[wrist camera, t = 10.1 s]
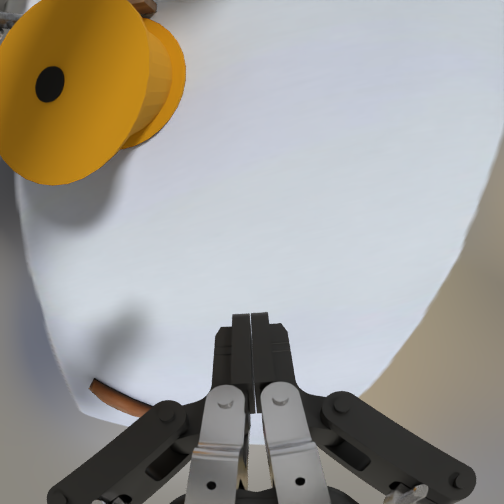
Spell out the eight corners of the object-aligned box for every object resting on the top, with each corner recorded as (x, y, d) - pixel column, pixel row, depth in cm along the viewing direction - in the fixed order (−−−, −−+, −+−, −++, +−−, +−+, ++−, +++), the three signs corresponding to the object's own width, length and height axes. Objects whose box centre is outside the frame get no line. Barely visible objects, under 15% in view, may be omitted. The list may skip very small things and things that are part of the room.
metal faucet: (30, 32, 22) (-47, 30, 9) (47, 9, 21) (-28, -5, 7) (61, 58, 26) (-21, 59, 12) (80, 33, 25) (1, 20, 11)
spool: (181, 3, 24) (145, -44, 11) (193, 136, 34) (162, 166, 21) (55, 43, 25) (-19, 38, 12) (70, 160, 34) (3, 201, 21)
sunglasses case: (86, 389, 61) (83, 402, 55) (95, 369, 62) (92, 382, 56) (146, 417, 67) (148, 431, 61) (157, 399, 68) (159, 413, 62)
